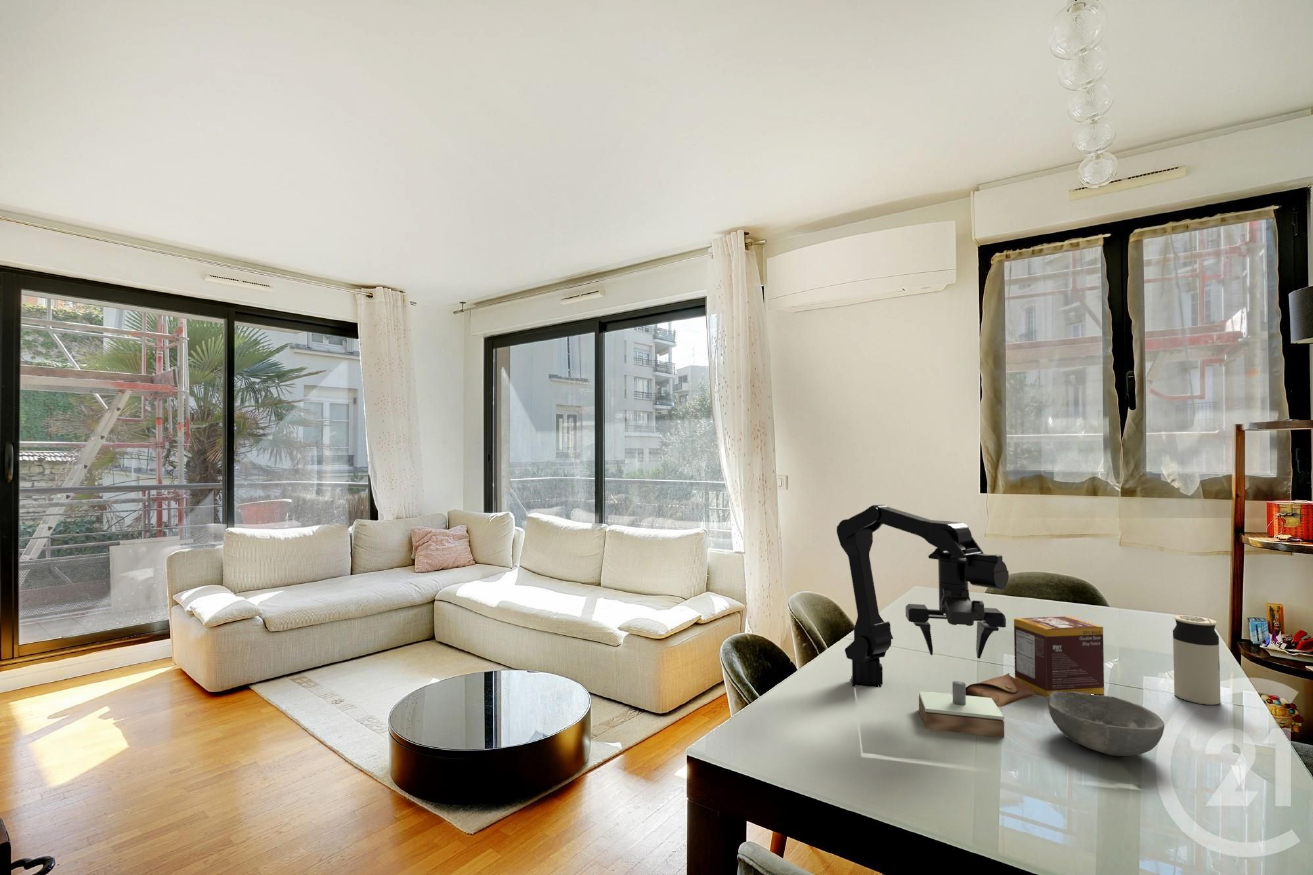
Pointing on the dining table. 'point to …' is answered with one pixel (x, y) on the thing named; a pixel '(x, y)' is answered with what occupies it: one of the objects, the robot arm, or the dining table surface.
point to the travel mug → (1196, 660)
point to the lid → (960, 703)
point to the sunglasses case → (1000, 690)
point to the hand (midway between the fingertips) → (954, 656)
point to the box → (961, 723)
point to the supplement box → (1059, 655)
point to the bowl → (1105, 723)
